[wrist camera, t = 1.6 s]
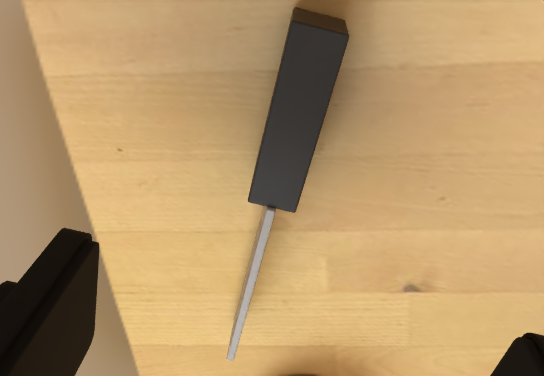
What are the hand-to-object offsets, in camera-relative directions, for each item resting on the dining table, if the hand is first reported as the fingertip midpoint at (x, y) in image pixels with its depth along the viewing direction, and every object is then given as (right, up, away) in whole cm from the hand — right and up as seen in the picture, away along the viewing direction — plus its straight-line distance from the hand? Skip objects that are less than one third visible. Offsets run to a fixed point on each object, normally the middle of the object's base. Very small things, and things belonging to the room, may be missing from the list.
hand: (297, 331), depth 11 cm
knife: (-1, +3, +14) cm, 14 cm away
